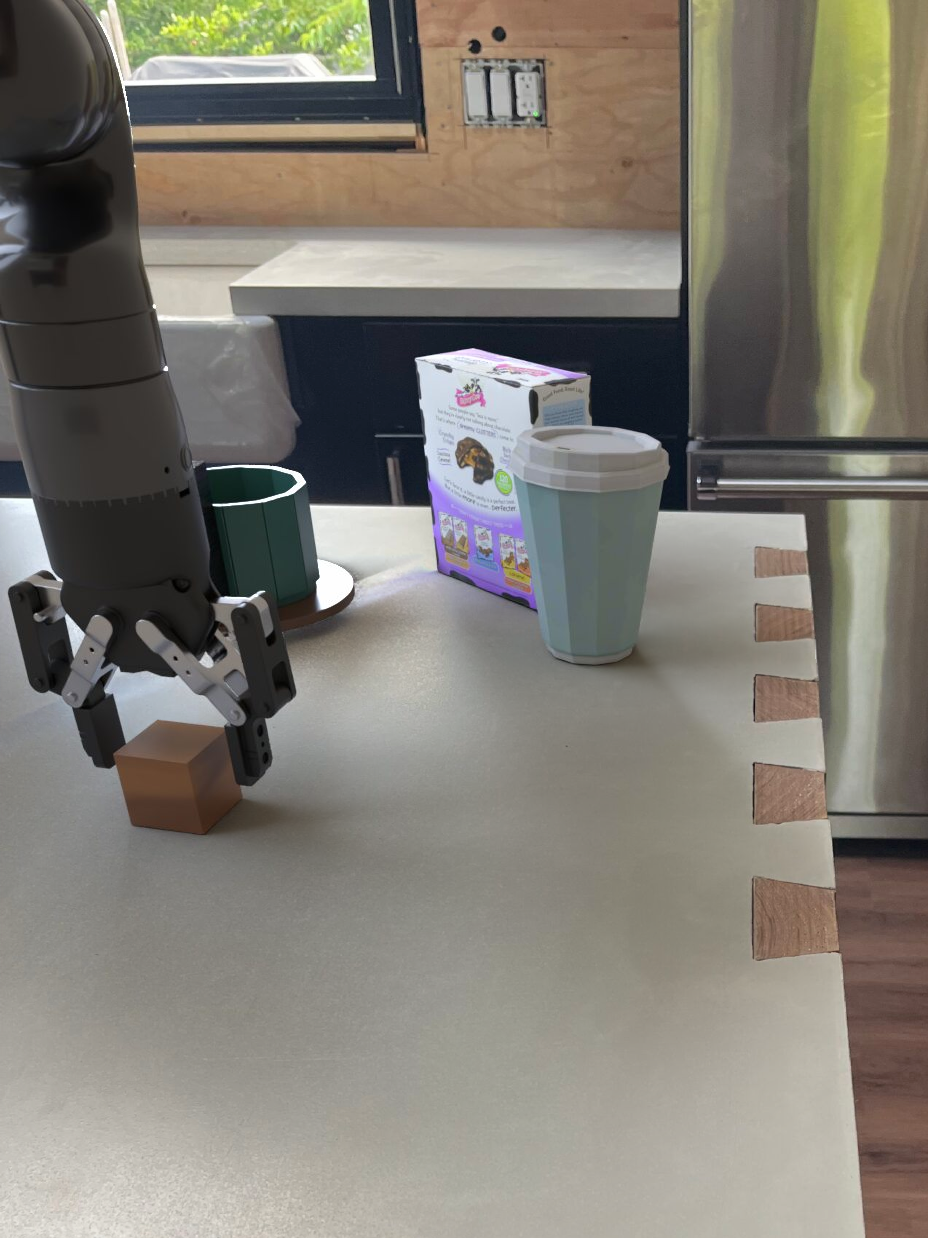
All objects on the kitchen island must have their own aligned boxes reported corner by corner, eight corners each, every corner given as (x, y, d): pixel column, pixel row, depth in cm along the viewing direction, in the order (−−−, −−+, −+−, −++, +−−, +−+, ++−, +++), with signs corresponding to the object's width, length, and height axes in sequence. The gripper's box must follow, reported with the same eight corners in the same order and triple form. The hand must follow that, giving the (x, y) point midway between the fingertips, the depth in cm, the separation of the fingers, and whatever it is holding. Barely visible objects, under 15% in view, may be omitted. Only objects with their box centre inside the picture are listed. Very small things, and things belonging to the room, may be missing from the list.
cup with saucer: (197, 560, 106) (167, 410, 100) (380, 570, 105) (362, 419, 98) (91, 644, 92) (47, 476, 85) (302, 657, 90) (274, 487, 84)
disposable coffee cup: (557, 612, 101) (548, 405, 92) (691, 633, 98) (694, 421, 90) (494, 665, 93) (477, 442, 84) (638, 688, 90) (636, 461, 81)
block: (203, 835, 73) (187, 763, 70) (131, 825, 74) (112, 753, 71) (243, 797, 76) (229, 727, 74) (173, 788, 77) (157, 719, 75)
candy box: (600, 597, 104) (595, 373, 94) (542, 616, 100) (530, 385, 91) (490, 554, 112) (474, 343, 102) (432, 570, 108) (411, 353, 99)
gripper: (-71, 482, 63) (25, 788, 72) (205, 504, 60) (268, 818, 69) (29, 442, 69) (105, 729, 78) (283, 461, 66) (331, 755, 75)
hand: (182, 771), depth 74 cm, fingers open, 8 cm apart
